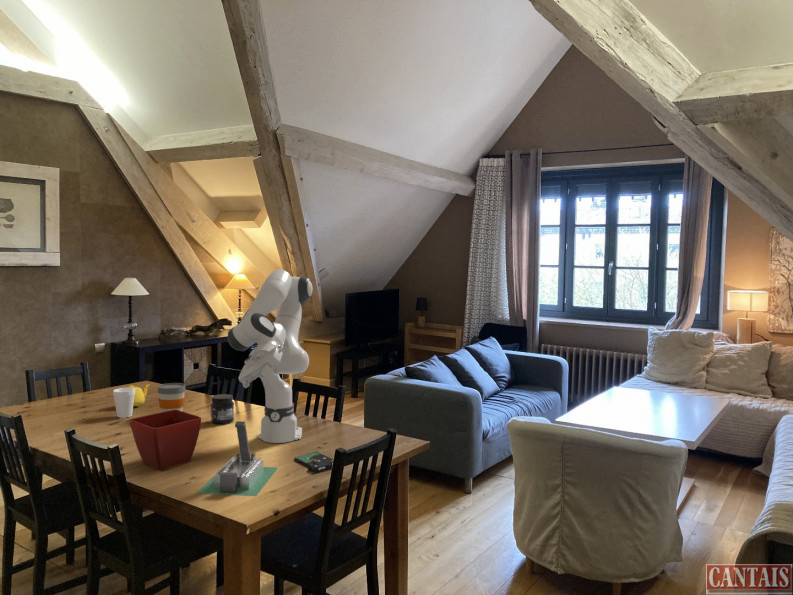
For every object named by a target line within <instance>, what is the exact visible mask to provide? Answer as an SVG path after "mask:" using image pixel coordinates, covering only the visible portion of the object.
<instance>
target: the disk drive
mask: <svg viewBox="0 0 793 595" xmlns="http://www.w3.org/2000/svg"><path fill="white" fill-rule="evenodd" d="M293 460H294V461H295V462H297V463H299V464H301V465H303V466H305V467H307V470H308V471H310V472H311V473H313V474H319V473H321V472H322V473H323V472H325V471H329V470H332V469H331V468H332V463H333V460H334V459H333V458H331V457H329V456H327V455H325V454H324V453H321V452H319V451H312V452H309V453H305V454H303V455H299V456H295V457H294V458H293Z"/></svg>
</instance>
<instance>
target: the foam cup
mask: <svg viewBox="0 0 793 595" xmlns="http://www.w3.org/2000/svg"><path fill="white" fill-rule="evenodd" d="M112 394H113V396H112V397H113V399H114V405H115V411H116V417H123V418H122V419H125V418H124V417H130V416H133V411H134V406H133V403H134V395H135V389H134V388H129V387H120V388H116V389H113V391H112ZM130 418H131V417H130Z"/></svg>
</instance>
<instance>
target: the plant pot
mask: <svg viewBox="0 0 793 595" xmlns="http://www.w3.org/2000/svg"><path fill="white" fill-rule="evenodd" d="M129 423H130V428H131V432H132V436H133V439H134V443H135V445H136V449H137V450H138V454H139V456H140V459H141V460H142V462H143V463H144V464H146V465H149V466H150V467H153V468H155V469H156V470H164V469H167V468H171V467H175V466H178V465H182V464H185V463H188V462H191V460H192V457H193V455H194V452H195V449H196V446H197V442H198V438H199V434H200V430H201V424H202V417H201V416H198V415H195V414H191V413H189V412H185V411H179V410H170V411H165V412H161V411H160V412H156V413H152V414H148V415H142V416H137V417H133V418H130V419H129Z"/></svg>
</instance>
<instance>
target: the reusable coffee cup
mask: <svg viewBox="0 0 793 595" xmlns="http://www.w3.org/2000/svg"><path fill="white" fill-rule="evenodd" d="M185 393H186V385H185V383H181V382H170V383H162V384H159V385H158V387H157V394H158V398H157V399H158V404H159V409H160V410H161V411H160V413H161V412H165V411H170V410H179V411H182V412H184V410H183V409H184V406H185V399H186V396H185Z"/></svg>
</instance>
